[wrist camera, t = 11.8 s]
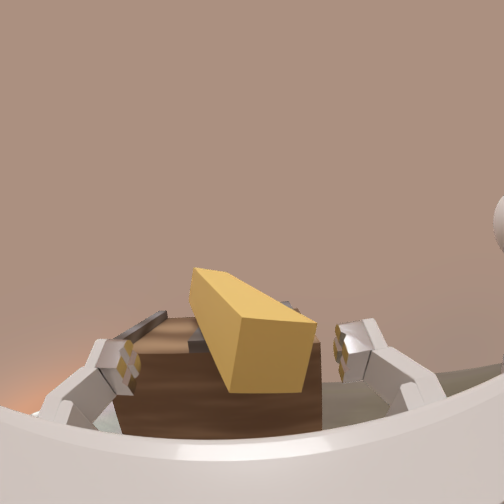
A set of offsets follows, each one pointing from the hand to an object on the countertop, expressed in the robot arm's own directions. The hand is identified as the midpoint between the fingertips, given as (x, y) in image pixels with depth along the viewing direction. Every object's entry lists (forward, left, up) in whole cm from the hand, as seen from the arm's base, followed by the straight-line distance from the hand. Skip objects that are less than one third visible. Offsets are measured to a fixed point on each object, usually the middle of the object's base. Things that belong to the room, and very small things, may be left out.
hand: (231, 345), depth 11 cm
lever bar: (+10, -10, -3) cm, 14 cm away
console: (+13, -12, -30) cm, 35 cm away
